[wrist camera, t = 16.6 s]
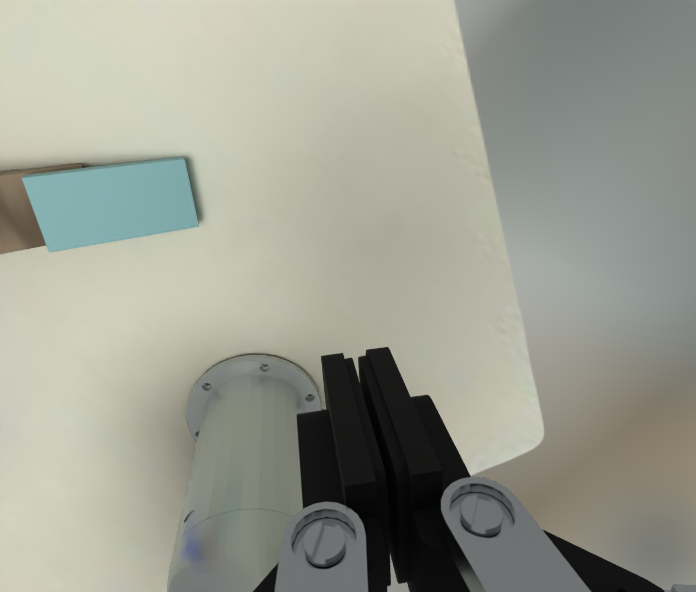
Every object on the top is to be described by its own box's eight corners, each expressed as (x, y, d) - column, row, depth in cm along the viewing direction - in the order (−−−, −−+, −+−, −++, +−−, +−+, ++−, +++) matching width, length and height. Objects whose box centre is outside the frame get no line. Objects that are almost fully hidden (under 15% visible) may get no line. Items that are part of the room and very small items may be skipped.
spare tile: (198, 226, 34) (49, 252, 31) (195, 221, 35) (52, 245, 32) (184, 158, 32) (21, 178, 28) (182, 156, 33) (26, 174, 30)
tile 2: (103, 234, 33) (-67, 267, 29) (101, 229, 35) (-62, 260, 30) (81, 165, 31) (-106, 189, 27) (80, 163, 32) (-99, 185, 28)
